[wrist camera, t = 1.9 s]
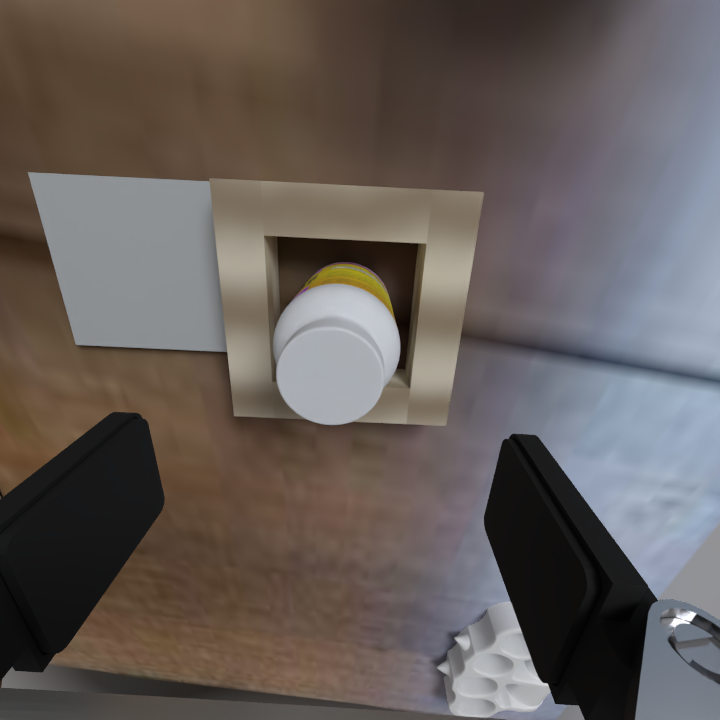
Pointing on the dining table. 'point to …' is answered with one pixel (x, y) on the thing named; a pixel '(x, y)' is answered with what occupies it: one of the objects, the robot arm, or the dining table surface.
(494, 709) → the white scalloped holder tray
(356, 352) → the supplement bottle
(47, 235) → the grey mat
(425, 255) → the cup holder
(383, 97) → the dining table surface
